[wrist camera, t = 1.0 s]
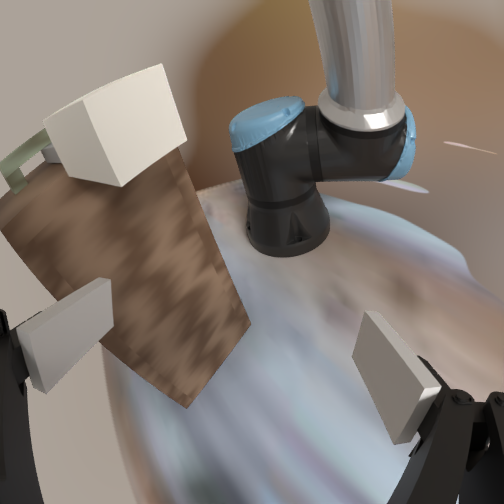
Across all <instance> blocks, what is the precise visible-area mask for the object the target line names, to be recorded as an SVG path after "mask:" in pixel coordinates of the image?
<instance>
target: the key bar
mask: <svg viewBox="0 0 504 504" xmlns="http://www.w3.org/2000/svg"><path fill="white" fill-rule="evenodd" d="M42 122H43V124H44V127H45V129H46V131H47V133H48V135H49V138H50V140H51V143H50V144H48V145H47V146H46V147H44V148H43V149H42V150H41V152H42V154H43V156H44V158H45V160H46V162H47V163H62V164H63V166H64V168H65V170H66V172H67V174H68V176H69V177H74V178H80V179H85V180H90V181H95V182H100V183H105V184H109V185H114V186H119V187H122V186H124V185H125V184H126V183H127V182H129V181H130V180H131V179H133V178H134V177H135V176H137V175H138V174H139V173H141V172H142V171H143V170H145V169H146V168H147V167H149V166H150V165H152V164H153V163H154V162H156V161H157V160H159V159H160V158H161V157H163V156H164V155H166V154H167V153H169V152H170V151H172V150H173V149H175V148H176V147H178V146H179V145H181V144H182V143H184V142H185V141H187V138H186V135H185V132H184V129H183V126H182V123H181V120H180V117H179V114H178V111H177V108H176V105H175V102H174V99H173V96H172V93H171V90H170V87H169V84H168V80H167V77H166V74H165V71H164V68H163V65H162V63H161V64H159V65H156V66H153V67H150V68H147V69H144V70H141V71H139V72H136V73H133V74H131V75H128V76H126V77H123V78H121V79H118V80H116V81H113V82H111V83H109V84H107V85H104V86H102V87H100V88H98V89H96V90H94V91H92V92H90V93H88V94H86V95H84V96H82V97H81V98H79V99H77V100H75V101H74V102H72V103H70V104H68V105H67V106H65V107H63V108H62V109H60V110H58V111H57V112H55V113H53V114H52V115H51V116H49V117H47V118H46V119H44V120H43V121H42Z"/></svg>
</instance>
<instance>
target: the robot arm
mask: <svg viewBox="0 0 504 504" xmlns="http://www.w3.org/2000/svg"><path fill="white" fill-rule="evenodd" d="M308 1H309V4H310V8H311V12H312V16H313V20H314V24H315V29H316V34H317V38H318V43H319V47H320V52H321V57H322V62H323V68H324V73H325V79H326V84H327V87H326V88H325V89H324V90H323V91H322V92H321V94H320V96H319V99H318V106H305V103H304V102H303V100H302V99H301V98H300V97H297V96H292V97H289V96H286V97H280V98H275V99H271V100H268V101H265V102H262V103H259V104H256V105H254V106H252V107H250V108H247V109H246V110H244V111H242V112H241V113H239V114H238V115H236V116H235V117H234V118H233V119H232V121H231V122H230V125H229V133H230V138H231V142H232V151H233V152H234V155H235V158H236V161H237V164H238V168H239V171H240V174H241V178H242V181H243V184H244V188H245V191H246V194H247V197H248V212H247V225H246V227H247V233H248V236H249V239H250V242H251V244H252V245H253V247H254V248H255V249H257V250H258V251H259V252H261V253H263V254H266V255H269V256H273V257H293V256H298V255H301V254H304V253H307V252H309V251H311V250H313V249H315V248H316V247H318V246H319V245H320V244H321V243H322V242H323V241H324V240H325V239H326V237H327V236H328V234H329V231H330V219H329V213H328V210H327V208H326V207H325V205H324V202H323V200H322V198H321V196H320V194H319V192H318V190H317V188H316V182H324V181H378V182H383V181H386V180H397V179H401V178H402V177H404V176H405V175H406V174H407V173H408V172H409V170H410V168H411V165H412V163H413V160H414V155H415V149H416V147H415V142H414V141H415V139H416V128H415V122H414V118H413V115H412V113H411V111H410V109H409V108H408V107H407V106H405V104H404V101H403V99H402V97H401V96H400V95H399V94H398V93H397V92H396V91H395V46H394V27H393V13H392V2H391V0H308ZM113 326H114V323H113V310H112V294H111V279H106V278H101V277H99V278H97V279H95V280H93V281H92V282H90V283H88V284H87V285H85V286H83V287H81V288H80V289H78V290H76V291H75V292H73V293H71V294H70V295H68V296H66V297H65V298H63V299H61V300H60V301H58V302H56V303H55V304H53V305H52V306H50V307H48V308H47V309H45V310H43V311H40V312H38V313H37V314H35V315H34V316H33V317H31V318H29V319H28V320H27V321H24V322H23V323H21V324H19V325H18V326H16V327H15V328H13V329H12V330H9V325H8V321H7V316H6V312H5V311H4V310H2V309H0V504H44V502H43V498H42V494H41V490H40V486H39V482H38V477H37V473H36V468H35V463H34V457H33V451H32V444H31V437H30V428H29V417H28V403H27V386H26V383H25V379H27V377H29V376H30V379H31V382H32V385H33V388H35V389H37V390H39V391H41V392H43V393H45V394H47V393H48V392H49V391H50V390H51V389H52V388H53V387H54V386H55V384H56V383H57V382H58V381H59V380H60V379H61V378H62V377H63V376H64V375H65V374H66V373H67V372H68V371H69V370H70V369H71V368H72V367H73V366H74V365H75V364H76V363H77V362H78V361H79V360H80V359H81V358H82V357H83V356H84V355H85V354H86V353H87V352H88V351H89V350H90V349H91V348H92V347H93V346H94V345H95V344H96V343H97V342H98V341H99V340H100V339H101V338H102V337H103V336H104V335H105V334H106V333H107V332H108V331H109V330H110V329H111V328H112V327H113ZM352 358H353V360H354V362H355V364H356V366H357V368H358V370H359V372H360V374H361V376H362V378H363V380H364V382H365V384H366V386H367V388H368V391H369V393H370V395H371V397H372V399H373V401H374V403H375V405H376V407H377V409H378V412H379V414H380V416H381V418H382V420H383V422H384V424H385V427H386V429H387V431H388V433H389V435H390V438H391V440H392V442H393V444H394V445H396V444H402V443H407V442H411V440H412V439H413V437H414V435H415V434H416V432H417V431H418V433H419V435H420V437H421V438H420V440H419V441H418V443H417V444H416V446H415V447H414V449H413V450H412V452H411V453H410V454H409V457H411V458H410V460H409V463H408V465H407V467H406V469H405V471H404V473H403V475H402V477H401V479H400V481H399V483H398V485H397V487H396V488H395V490H394V492H393V494H392V496H391V498H390V499H389V501H388V503H387V504H456V501H457V498H458V494H459V504H504V393H503V392H492V393H490V395H489V397H488V398H487V400H486V402H475V401H474V399H473V397H472V396H471V395H470V394H468V393H467V392H465V391H463V390H459V389H450V387H449V386H448V385H447V384H446V383H445V381H444V380H443V379H442V378H441V377H440V375H439V374H437V372H436V371H435V370H434V369H433V367H432V366H431V365H430V364H429V363H428V361H426V360H425V359H423V358H422V357H420V356H416V355H415V353H414V352H413V351H412V350H411V349H410V348H409V346H408V345H407V344H406V343H405V342H404V341H403V339H402V338H401V337H400V336H399V335H398V334H397V332H396V331H395V330H394V329H393V328H392V327H391V326H390V324H389V323H388V322H387V321H386V320H385V319H384V318H383V317H382V315H381V314H380V313H379V312H378V311H365V312H364V316H363V319H362V323H361V327H360V331H359V334H358V338H357V341H356V345H355V348H354V351H353V355H352ZM489 443H490V445H489V448H488V444H489Z"/></svg>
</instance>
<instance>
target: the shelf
mask: <svg viewBox="0 0 504 504" xmlns="http://www.w3.org/2000/svg"><path fill="white" fill-rule="evenodd" d="M50 143H51V140H50V138H49V135H48V133H47V131H46V129H45V128H44V129H43V130H41V131H40V132H39V133H37V134H36V135H34V136H33V137H32V138H30V139H29V140H27V141H26V142H25V143H23V144H22V145H21V146H19V147H18V148H17V149H16V150H14V151H13V152H12V153H11V154H9V155H8V156H7V157H6V158H4V159H3V160H2V161H1V162H0V171H1V173H2V174H3V176H4V178H5V180H6V182H7V183H8V185H9V187H10V190H9V191H8V192H7V193H6V194H5V195H4V196H3V197H2V198H1V199H0V231H1V232H2V234H3V235H4V236H5V238H6V239H7V241H8V242H9V243H10V245H11V246H12V247H13V249H14V250H15V251H16V253H17V254H18V255H19V257H20V258H21V259H22V260H23V262H24V263H25V264H26V265H27V267H28V268H29V269H30V270H31V272H32V273H33V274H34V275H35V276H36V278H37V279H38V280H39V281H40V282H41V283H42V284H43V286H44V287H45V288H46V289H47V290H48V291H49V292H50V293H51V295H53V297H54V298H55V299H56V300H57V301H60V300H61V299H63V298H65V297H66V296H68V295H70V294H71V293H73V292H75V291H76V290H78V289H80V288H81V287H83V286H85V285H87V284H88V283H90V282H92V281H93V280H95V279H97V278H99V277H101V278H106V279H111V294H112V310H113V323H114V326H113V327H112V328H111V329H110V330H109V331H108V332H107V333H106V334H105V335H104V336H103V337H102V338H101V339H100V340H99V342H100V343H101V344H102V345H103V346H104V347H106V348H107V349H108V350H109V351H110V352H111V353H113V354H114V355H115V356H116V357H117V358H118V359H120V360H121V361H122V362H123V363H125V364H126V365H127V366H128V367H129V368H131V369H132V370H133V371H135V372H136V373H137V374H138V375H140V376H141V377H142V378H144V379H145V380H146V381H148V382H149V383H150V384H152V385H153V386H154V387H156V388H157V389H158V390H160V391H161V392H163V393H164V394H165V395H167V396H168V397H170V398H171V399H173V400H174V401H176V402H177V403H179V404H180V405H182V406H183V407H185V408H186V409H187V408H188V407H189V405H190V404H191V403H192V402H193V400H194V399H195V398H196V397H197V395H198V394H199V393H200V391H201V390H202V389H203V388H204V386H205V385H206V384H207V382H208V381H209V380H210V379H211V377H212V376H213V375H214V373H215V372H216V371H217V369H218V368H219V367H220V365H221V364H222V363H223V361H224V360H225V359H226V358H227V356H228V355H229V354H230V352H231V351H232V350H233V348H234V347H235V345H236V344H237V343H238V341H239V340H240V339H241V337H242V336H243V335H244V333H245V332H246V331H247V329H248V328H249V326H250V325H251V322H250V320H249V318H248V316H247V313H246V311H245V309H244V307H243V304H242V302H241V300H240V297H239V295H238V293H237V290H236V288H235V286H234V284H233V281H232V279H231V277H230V274H229V272H228V270H227V267H226V265H225V262H224V260H223V258H222V255H221V253H220V251H219V248H218V246H217V243H216V241H215V239H214V236H213V234H212V231H211V229H210V227H209V224H208V222H207V219H206V217H205V214H204V212H203V209H202V207H201V204H200V202H199V200H198V197H197V195H196V192H195V190H194V187H193V185H192V182H191V180H190V177H189V174H188V172H187V169H186V167H185V164H184V162H183V159H182V157H181V154H180V151H179V149H178V147H176V148H175V149H173V150H172V151H170V152H169V153H167V154H166V155H164V156H163V157H161V158H160V159H159V160H157V161H156V162H154V163H153V164H152V165H150V166H149V167H147V168H146V169H145V170H143V171H142V172H141V173H139V174H138V175H137V176H135V177H134V178H133V179H131V180H130V181H129V182H127V183H126V184H125V185H124V186H122V187H119V186H114V185H109V184H105V183H100V182H95V181H90V180H85V179H80V178H74V177H69V176H68V174H67V172H66V170H65V168H64V166H63V164H62V163H47V162H46V160H45V161H44V162H43V163H42V164H40V165H39V166H38V167H36V168H35V169H34V170H33V171H32V172H30V173H29V174H28V175H27V176H25V177H24V175H23V174H22V172H21V170H20V168H19V167H20V166H21V165H22V164H24V163H25V162H26V161H27V160H29V159H30V158H31V157H32V156H33V155H35V154H36V153H38V152H39V151H40V150H42V149H43V148H44V147H46V146H47V145H48V144H50Z"/></svg>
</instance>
